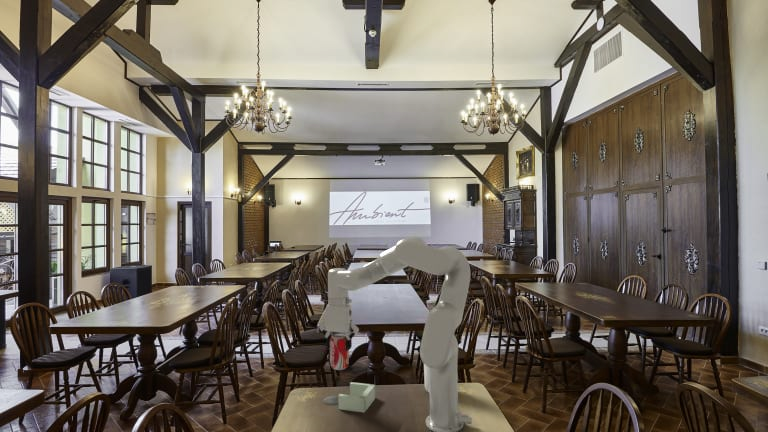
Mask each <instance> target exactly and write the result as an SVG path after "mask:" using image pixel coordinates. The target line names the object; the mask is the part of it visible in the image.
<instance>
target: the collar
mask: <svg viewBox="0 0 768 432" xmlns="http://www.w3.org/2000/svg"><path fill="white" fill-rule="evenodd" d="M376 389H377V388H376V384H371V383H363V382H362V383H361V382H354V381H353V382H352V381H351V382H350V383H349V394H343V393H339V394H338V395H337V396H338V402H339V404H338V410H343V411H350V412H357V413H366V412H367V411H368V409H369V407H370V406H371V405H372V403H374V401H375V400H376V398H377V396H376V395H377V393H376Z"/></svg>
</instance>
